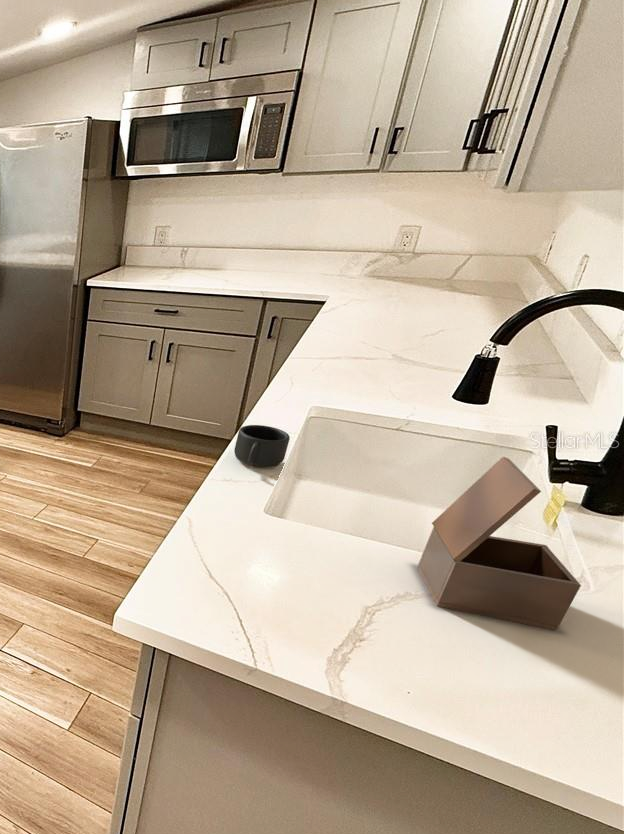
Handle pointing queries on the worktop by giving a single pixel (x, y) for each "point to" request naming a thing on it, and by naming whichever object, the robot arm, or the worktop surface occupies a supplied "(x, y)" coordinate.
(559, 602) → the box
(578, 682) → the worktop surface
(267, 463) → the mug
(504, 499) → the lid
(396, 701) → the worktop surface
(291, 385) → the worktop surface
